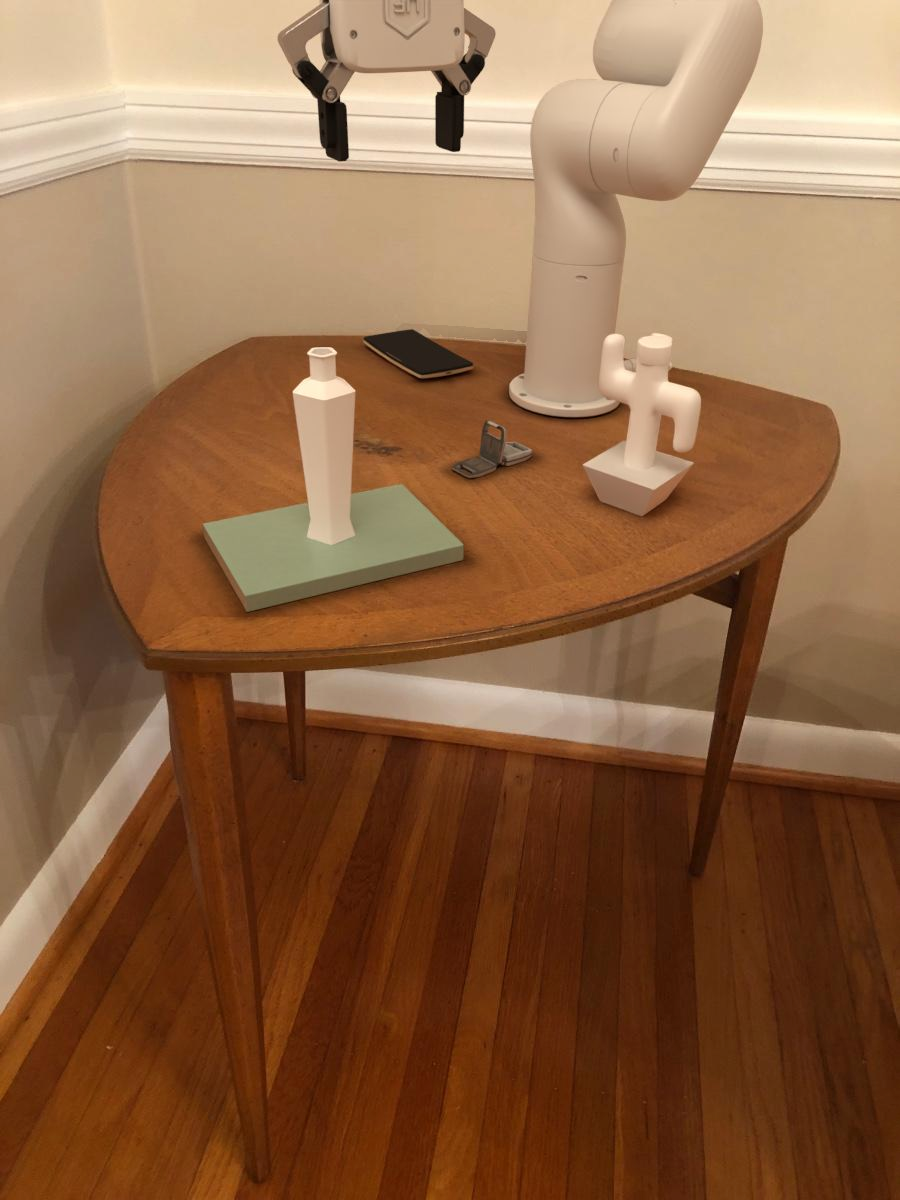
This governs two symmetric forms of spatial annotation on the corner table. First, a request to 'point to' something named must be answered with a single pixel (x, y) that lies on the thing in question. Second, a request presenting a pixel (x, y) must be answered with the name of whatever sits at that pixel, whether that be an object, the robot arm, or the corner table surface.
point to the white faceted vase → (326, 446)
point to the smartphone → (417, 354)
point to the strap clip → (493, 454)
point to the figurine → (643, 426)
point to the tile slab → (328, 548)
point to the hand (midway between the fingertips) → (393, 153)
